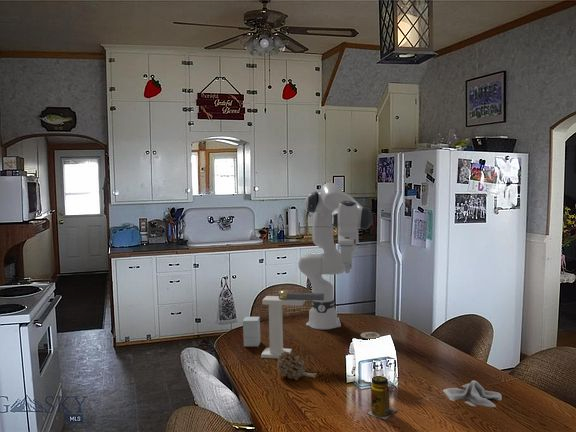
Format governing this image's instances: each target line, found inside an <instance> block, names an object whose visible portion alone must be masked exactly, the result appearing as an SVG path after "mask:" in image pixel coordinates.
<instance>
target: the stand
mask: <svg viewBox="0 0 576 432" xmlns="http://www.w3.org/2000/svg"><path fill="white" fill-rule="evenodd" d="M261 302H262V303H261V304H262V306H264V305H268V330H269V331H268V332H269V333H268V334H269V347H265V349H264V350H262V353H261V354H260V358H264V359H278V358H279V356H280V355H281V354H282V353H284V352H289V353H291V352H292V348H284V331H283V330H284V329H283V327H284V326H283V306H292V307H293V306H297V307H298V306H300V307H303V305H304V304H305V303H306V300H289V299H286V300H281V299H279V295H266V296H265V297H263V299H262V300H261Z"/></svg>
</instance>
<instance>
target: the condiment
mask: <svg viewBox="0 0 576 432" xmlns="http://www.w3.org/2000/svg"><path fill="white" fill-rule="evenodd" d="M388 382H389V379H388V378H387V377H386V376H382V375H381V376H376V377H373V378H372V383H371V386H370V395H371V396H370V399H371V400H370V401H371V403H370V408H371V409H370V410H369V411H368V412H366V414H367V415H371V416H372V417H376V418H379V419H383V420H387V419H388V418H389V417H391V416H392V415H393V414H394V413H396V412H397V411H398V409H396V408H392V407H390V387H389V383H388Z"/></svg>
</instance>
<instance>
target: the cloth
mask: <svg viewBox="0 0 576 432" xmlns="http://www.w3.org/2000/svg"><path fill="white" fill-rule="evenodd" d="M461 387H463V388H465V389H461V388H457V387H449V388H446V389H443V390H442V391H443V393H444V394H445V395H446V397H447V398H448V399H449V400H450V401H452V402H455V401H457V400H466V401H464V404H467V405H469V406H471V407H477V405H478V406H484V407H489V408H496V406H497V405H496V404H495V403H493V402H492V401H493V400H495V401H502V400H503V399H502V398H503V397H502V394H501V393H500V392H497V391H492V390H485V388H484V387H483V386H482V385H481V384H480V383H479V382H478V381H476V380H471V381H470V383H465V384H462V386H461ZM491 400H492V401H491Z"/></svg>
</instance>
